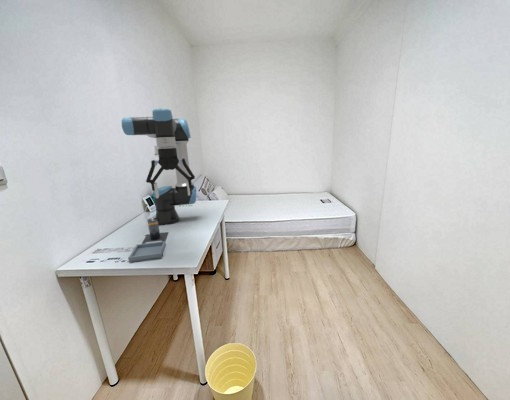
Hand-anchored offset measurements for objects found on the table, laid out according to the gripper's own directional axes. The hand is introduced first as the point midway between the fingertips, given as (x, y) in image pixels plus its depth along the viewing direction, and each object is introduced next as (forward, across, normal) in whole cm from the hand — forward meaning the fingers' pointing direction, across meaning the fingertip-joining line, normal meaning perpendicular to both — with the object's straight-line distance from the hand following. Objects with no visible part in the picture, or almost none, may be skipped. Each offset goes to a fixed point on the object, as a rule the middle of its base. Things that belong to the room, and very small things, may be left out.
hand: (173, 196), depth 105 cm
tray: (+28, -15, +3) cm, 32 cm away
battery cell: (+27, -15, +20) cm, 37 cm away
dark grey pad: (+28, -15, +20) cm, 38 cm away
